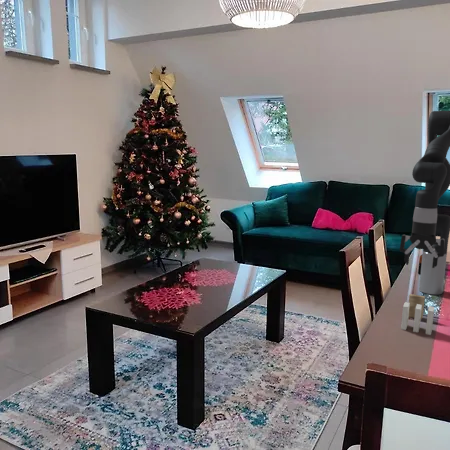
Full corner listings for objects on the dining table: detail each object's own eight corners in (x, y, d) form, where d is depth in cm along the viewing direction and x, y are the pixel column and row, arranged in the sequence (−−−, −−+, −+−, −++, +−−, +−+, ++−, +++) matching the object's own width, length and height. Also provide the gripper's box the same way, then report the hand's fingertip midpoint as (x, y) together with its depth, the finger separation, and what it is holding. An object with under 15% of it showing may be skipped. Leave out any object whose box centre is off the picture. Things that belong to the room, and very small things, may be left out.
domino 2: (407, 316, 163) (409, 295, 161) (407, 315, 164) (409, 294, 163) (422, 319, 161) (424, 297, 159) (422, 317, 162) (424, 296, 161)
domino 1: (402, 324, 155) (404, 301, 154) (407, 325, 155) (409, 302, 153) (400, 329, 151) (403, 306, 150) (405, 330, 150) (408, 307, 149)
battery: (417, 274, 219) (419, 254, 218) (420, 271, 225) (422, 251, 223) (427, 275, 217) (429, 255, 215) (429, 272, 223) (432, 252, 221)
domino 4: (426, 328, 152) (429, 306, 151) (431, 329, 151) (434, 306, 150) (425, 333, 148) (428, 310, 146) (430, 335, 147) (433, 311, 146)
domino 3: (414, 326, 154) (416, 304, 152) (419, 327, 153) (422, 304, 152) (413, 331, 149) (415, 308, 148) (418, 332, 149) (420, 309, 147)
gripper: (447, 221, 156) (442, 266, 159) (404, 217, 163) (400, 260, 166) (447, 224, 150) (441, 271, 153) (401, 219, 156) (397, 265, 159)
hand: (420, 265), depth 159 cm, fingers open, 8 cm apart
